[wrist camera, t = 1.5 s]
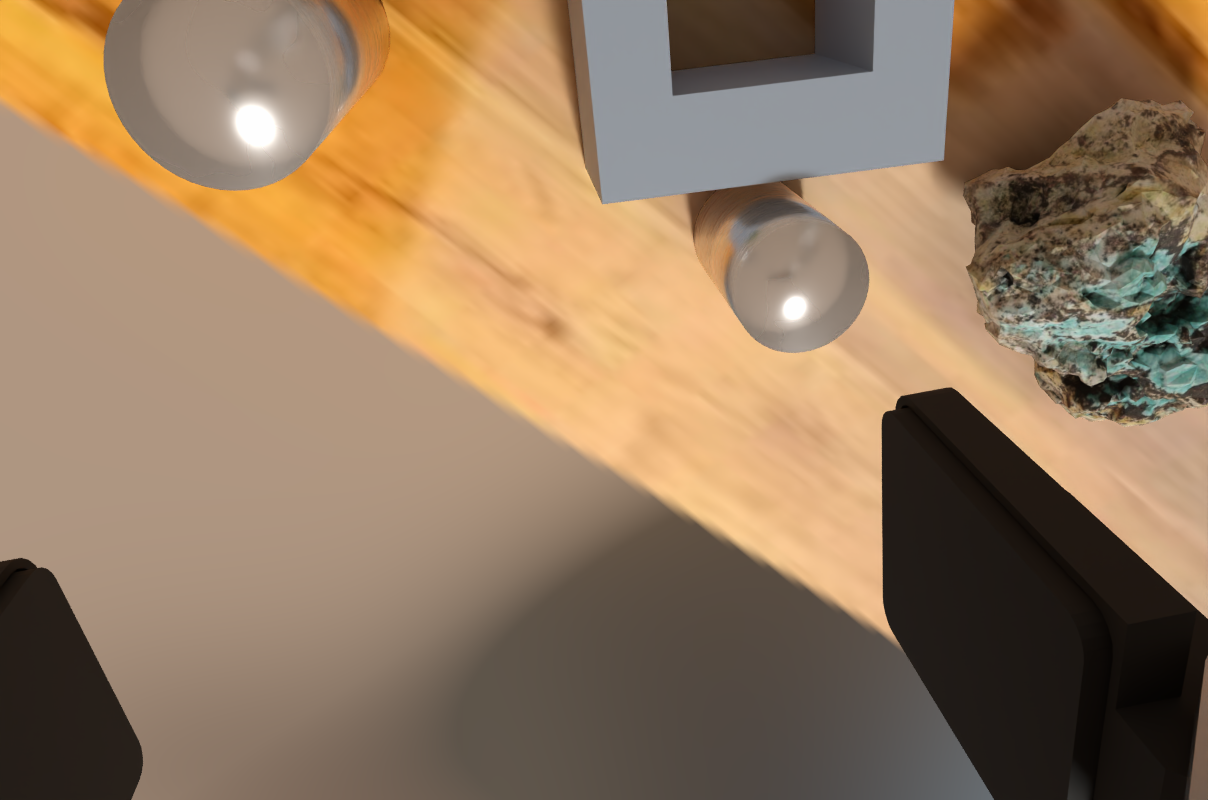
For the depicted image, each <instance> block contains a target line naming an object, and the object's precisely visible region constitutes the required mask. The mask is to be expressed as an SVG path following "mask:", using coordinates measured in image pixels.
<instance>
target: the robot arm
mask: <svg viewBox="0 0 1208 800" xmlns="http://www.w3.org/2000/svg"><path fill="white" fill-rule="evenodd" d="M882 538H883V604H884V610H885V614H886V617H887V620H888V623H889V626H890V628H891V630H892V632H893V634H894V635H895V637H896V639H897V640H898V642H899V643H900V645H901V647H902V648H903V650H904V652H905V653H906V655H907V657H908V658H909V660H910V662H911V663H912V665H913V666H914V668H915V670H916V671H917V673H918V675H919V676H920V678H921V680H922V681H923V683H924V685H925V686H926V688H927V690H928V691H929V693H930V694H931V696H932V698H933V700H934V701H935V703H936V704H937V706H938V708H939V709H940V711H941V713H942V714H943V716H944V718H945V719H946V721H947V723H948V724H949V726H950V728H951V729H952V731H953V733H954V734H955V736H956V737H957V739H958V741H959V742H960V744H961V746H962V747H963V749H964V750H965V752H966V754H967V756H968V757H969V759H970V760H971V762H972V764H973V765H974V767H975V769H976V770H977V772H978V774H979V775H980V777H981V778H982V780H983V782H984V784H985V785H986V787H987V789H988V790H989V792H990V793H991V795H992V797H993V798H994V800H1208V619H1207V618H1206V617H1205V616H1204V615H1203V614H1202V613H1201V612H1199V611H1198V610H1197V609H1196V608H1195V607H1194V606H1193V605H1192V604H1191V603H1190V602H1188V601H1187V600H1186V599H1185V598H1184V597H1183V596H1182V595H1181V594H1180V593H1179V592H1178V591H1176V590H1175V589H1174V588H1173V587H1172V586H1171V585H1170V584H1169V583H1168V582H1167V581H1165V580H1164V579H1163V578H1162V577H1161V576H1160V575H1159V574H1158V573H1157V572H1156V571H1155V570H1153V569H1152V568H1151V567H1150V566H1149V565H1148V564H1147V563H1146V562H1145V561H1144V560H1142V559H1141V558H1140V557H1139V556H1138V555H1137V554H1136V553H1135V552H1134V551H1133V550H1132V549H1130V548H1129V547H1128V546H1127V545H1126V544H1125V543H1124V542H1123V541H1122V540H1121V539H1120V538H1118V537H1117V536H1116V535H1115V534H1114V533H1113V532H1112V531H1111V530H1110V529H1109V528H1107V527H1106V526H1105V525H1104V524H1103V523H1102V522H1101V521H1100V520H1099V519H1098V518H1097V517H1095V516H1094V515H1093V514H1092V513H1091V512H1090V511H1089V510H1088V509H1087V508H1086V507H1084V506H1083V505H1082V504H1081V503H1080V502H1079V501H1078V500H1077V499H1076V498H1075V497H1074V496H1072V495H1071V494H1070V493H1069V492H1067V491H1066V490H1065V489H1064V488H1063V487H1061V486H1060V485H1059V484H1058V483H1057V482H1056V481H1055V480H1054V479H1053V478H1052V477H1051V476H1049V475H1048V474H1047V473H1046V472H1045V471H1044V470H1043V469H1042V468H1041V467H1040V466H1038V465H1037V464H1036V463H1035V462H1034V461H1033V460H1032V459H1031V458H1030V457H1029V456H1028V455H1026V454H1025V453H1024V452H1023V451H1022V450H1021V449H1020V448H1019V447H1018V446H1017V445H1016V444H1014V443H1013V442H1012V441H1011V440H1010V439H1009V438H1008V437H1007V436H1006V435H1005V434H1004V433H1002V432H1001V431H1000V430H999V429H998V428H997V427H996V426H995V425H994V424H993V423H992V422H990V421H989V420H988V419H987V418H986V417H985V416H984V415H983V414H982V413H981V412H980V411H978V410H977V409H976V408H975V407H974V406H973V405H972V404H971V403H970V402H969V401H967V400H966V399H965V398H964V397H963V396H962V395H961V394H960V393H959V392H958V391H956V390H955V389H953V388H943V389H937V390H932V391H926V392H921V393H916V394H910V395H905V396H901V397H900V398H899V399H898V401H897V404H896V409H895V410H893V411H887V412H885V413H884V415H883V418H882ZM142 766H143V757H142V750H141V746H140V743H139V740H138V739H137V737H136V735H135V733H134V731H133V729H132V727H131V725H130V723H129V721H128V719H127V717H126V715H125V713H124V711H123V709H122V707H121V705H120V703H119V701H118V699H117V697H116V695H115V693H114V692H113V689H112V687H111V686H110V684H109V682H108V680H107V678H106V676H105V674H104V672H103V670H102V668H101V666H100V664H99V662H98V660H97V658H96V656H95V655H94V652H93V650H92V648H91V646H90V644H89V642H88V641H87V638H86V636H85V635H84V633H83V631H82V629H81V627H80V625H79V623H78V621H77V619H76V617H75V615H74V613H73V611H72V609H71V608H70V605H69V603H68V601H67V599H66V597H65V595H64V593H63V591H62V590H61V588H60V586H59V584H58V582H57V580H56V578H55V577H54V575H53V574H52V572H50V571H49V570H48V569H46V568H37V567H36V565H34V564H33V563H32V562H31V561H29V560H27V559H23V558H18V559H13V560H7V561H2V562H0V800H131V799H132V796H133V794H134V792H135V789H136V787H137V784H138V782H139V780H140V776H141V773H142Z"/></svg>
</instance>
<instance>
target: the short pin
mask: <svg viewBox="0 0 1208 800" xmlns="http://www.w3.org/2000/svg"><path fill="white" fill-rule="evenodd" d="M694 246H695V251H696V254H697V257H698V259H699V261H700V263H701V265H702V266H703V268H704V269H705V271H706V272H707V274H708V275H709V277H710V278H711V280H712V281H713V283H714V284H715V285H716V287H717V288H718V290H719V291H720V293H721V294H722V296H723V297H724V299H725V300H726V302H727V303H728V304H729V306H730V307H731V309H732V310H733V312H734V313H735V315H736V316H737V318H738V319H739V320H740V322H741V323H742V325H743V326H744V328H745V329H746V330H747V332H748V333H749V334H750V335H751V336H752V337H753V338H754V339H755V340H756V341H758V342H759V343H761V344H762V345H764V346H766V347H768V348H770V349H773V350H777V351H781V352H789V353H797V352H806V351H811V350H814V349H817V348H820V347H822V346H824V345H826V344H828V343H830V342H832V341H833V340H835V339H836V338H838V337H839V336H840V335H842V334H843V333H844V332H845V331H846V330H847V329H848V328H849V327H850V326H851V324H852V323H853V322H854V321H855V319H856V318H857V316H858V315H859V313H860V311H861V309H862V307H863V305H864V302H865V300H866V297H867V292H868V287H869V270H868V265H867V261H866V258H865V256H864V254H863V252H862V250H861V248H860V247H859V245H858V244H857V242H856V241H855V240H854V239H853V238H852V237H851V236H850V235H848V234H847V233H846V232H844V231H843V230H842V229H841V228H839V227H838V226H837V225H835V224H834V223H833V222H832V221H830V220H829V219H828V218H826V217H825V216H824V215H823V214H821V213H820V212H819V211H818V210H816V209H815V208H814V207H812V206H811V205H810V204H809V203H807V202H806V201H805V200H803V199H802V198H801V197H800V196H798V195H797V194H796V193H794V192H793V191H792V190H791V189H789V188H788V187H787V186H785V185H784V184H783V183H781V182H771V183H764V184H756V185H748V186H740V187H733V188H725V189H718V190H717V191H715V192H714V193H713V194H712V195H711V196H710V197H709V198H708V200H707V201H706V202H705V204H704V205H703V207H702V209H701V211H700V213H699V215H698V217H697V220H696V224H695V229H694Z"/></svg>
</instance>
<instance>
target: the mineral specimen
mask: <svg viewBox="0 0 1208 800" xmlns="http://www.w3.org/2000/svg"><path fill="white" fill-rule="evenodd" d="M1193 113H1194V112H1193V111H1192V110H1191V109H1189V108H1188V107H1187V106H1186V105H1185V104H1184V103H1183V102H1182V101H1181V100H1179V101H1176V102H1172V103H1168V104H1165V105H1161V104H1159V103H1157V102H1155V101H1153V100H1146V101H1134V100H1129V99H1123V98H1121V99H1119V100H1118V101H1117V102H1116V103H1114V104H1113V105H1112V106H1111V107H1109V108H1108V109H1107V110H1105V111H1103V112H1101V113H1098V114H1096V115H1095V116H1094V117H1092V118H1091V119H1090V120H1089V121H1088V122H1087V123H1086V124H1084V125H1083V126H1082V127H1081V128H1080V129H1079V130H1078V131H1077V132H1076V133H1075V134H1074V135H1073V136H1072V137H1071V138H1070V139H1069V140H1068V141H1067V142H1066V143H1065V144H1063V145H1062V146H1060V147H1059V148H1058V149H1057V150H1056V151H1055V153H1054V154H1053V155H1052V156H1051V157H1050V158H1048V159H1046V160H1044V161H1042V162H1040V163H1038V164H1036V165H1034V166H1032V167H1030V168H1029V169H1027V170H1015V169H1012V168H1010V167H1006V168H1003V169H1001V170H995V169H992V170H990V171H988V172H986V173H984V174H982V175H980V176H978V177H976V178H974V179H972V180H970V181H968V182H965V184H964V194H963V196H964V198H965V200H966V202H967V204H968V206H969V208H970V210H971V221H972V223H973V224H974V225H976V227H975V254H974V257H973V259H972V262H971V264H970V265H968V266H966V268H967V271H968V273H969V276H970V278H971V281H972V283H973V286H974V289H975V293H976V297H977V300H978V304H977V312H978V313H979V314H980V315H982V316H983V317H984V319H985V321H986V323H985V328H986V330H987V331H988V332H989V334H990V335H991V336H992V337H993V338H994V339H995V340H996V341H997V342H998V343H999V344H1000V345H1002V346H1005V347H1007V348H1009V349H1012V350H1014V351H1017V352H1019V353H1022V354H1028V355H1032V357H1033V358H1034V361H1035V373H1034V375H1035V377H1036V379H1037V382H1038V384H1039V386H1040V387H1041V388H1042V389H1043V390H1044V391H1045V392H1046V393H1047V394H1048V395H1049V397H1050V398H1051V399H1052V400H1053V401H1054V402H1055V403H1056V404H1061V405H1062V406H1063V408H1064V409H1065V410H1066V411H1067V412H1068V413H1069V414H1071V415H1072V416H1073V417H1074V418H1078V417H1080V418H1083V419H1085V420H1088V421H1102V420H1105V419H1109V420H1112V421H1115V422H1116V423H1118V424H1120V425H1122V426H1124V427H1128V426H1136V425H1145V424H1148V423H1151V422H1154V421H1157V420H1159V419H1161V418H1163V417H1165V416H1168V415H1170V414H1172V413H1175V412H1179V411H1182V410H1184V409H1185V408H1202V407H1205V406H1208V167H1207V165H1206V164H1205V162H1204V161H1203V159H1202V157H1201V156H1200V155H1201V150H1202V145H1203V142H1204V137H1205V131H1204V130H1202V129H1201V128H1200V127H1199V126H1198V125H1197V124H1195V123H1194V122H1193V121H1192V120H1190V118H1191V116H1192V115H1193Z"/></svg>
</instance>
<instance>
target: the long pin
mask: <svg viewBox="0 0 1208 800" xmlns="http://www.w3.org/2000/svg"><path fill="white" fill-rule="evenodd" d="M389 47H390V31H389V24H388V20H387V16H386V14H385V11H384V8H383V6H382V4H381V2H380V0H123V1H122V2H121V4H120V5H119V7H118V8H117V9H116V11H115V13H114V16H113V18H112V20H111V22H110V25H109V28H108V31H107V35H106V40H105V47H104V72H105V80H106V84H107V88H108V92H109V96H110V98H111V101H112V103H113V106H114V109H115V111H116V113H117V115H118V117H119V118H120V120H121V122H122V124H123V125H124V127H125V128H126V130H127V131H128V133H129V134H130V136H131V137H132V138H133V139H134V141H135V142H136V143H137V144H138V145H139V146H140V147H141V149H142V150H143V151H145V152H146V153H147V154H148V155H149V156H150V157H151V158H152V159H153V160H155V161H156V162H157V163H159V164H160V165H161V166H163V167H164V168H165V169H167V170H169V171H170V172H172V173H174V174H175V175H177V176H179V177H181V178H183V179H186V180H188V181H190V182H192V183H196V184H199V185H202V186H205V187H210V188H215V189H220V190H234V191H235V190H250V189H255V188H260V187H264V186H267V185H270V184H272V183H275V182H277V181H279V180H281V179H283V178H285V177H287V176H288V175H289V174H291V173H292V172H294V171H295V170H297V169H298V168H299V167H300V166H301V165H302V164H303V163H304V162H305V161H306V160H307V159H308V158H309V157H310V155H311V154H312V153H313V152H314V151H315V150H316V149H317V147H318V146H319V145H320V144H321V143H322V142H323V140H324V139H325V138H326V137H327V136H328V135H329V134H330V132H331V131H332V130H333V129H334V128H335V127H336V126H337V124H338V123H339V122H340V121H341V120H342V119H343V118H344V116H345V115H346V114H347V113H348V112H349V111H350V109H351V108H352V107H353V106H354V105H355V104H356V103H357V101H358V100H359V99H360V98H361V97H362V96H363V95H364V93H365V92H366V91H367V90H368V89H369V88H370V87H371V85H372V84H373V83H374V82H375V81H376V79H377V78H378V77H379V75H380V74H381V72H382V70H383V68H384V66H385V64H386V61H387V57H388V54H389Z"/></svg>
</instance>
